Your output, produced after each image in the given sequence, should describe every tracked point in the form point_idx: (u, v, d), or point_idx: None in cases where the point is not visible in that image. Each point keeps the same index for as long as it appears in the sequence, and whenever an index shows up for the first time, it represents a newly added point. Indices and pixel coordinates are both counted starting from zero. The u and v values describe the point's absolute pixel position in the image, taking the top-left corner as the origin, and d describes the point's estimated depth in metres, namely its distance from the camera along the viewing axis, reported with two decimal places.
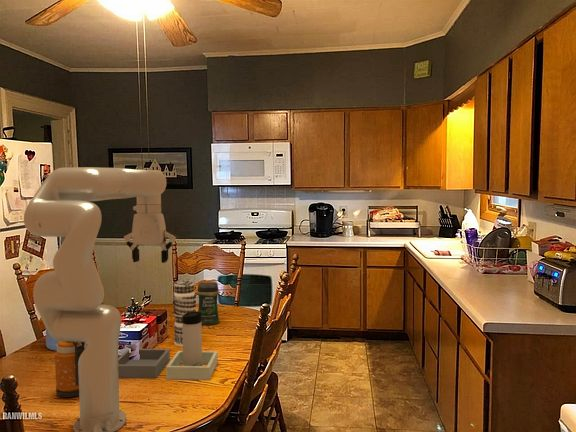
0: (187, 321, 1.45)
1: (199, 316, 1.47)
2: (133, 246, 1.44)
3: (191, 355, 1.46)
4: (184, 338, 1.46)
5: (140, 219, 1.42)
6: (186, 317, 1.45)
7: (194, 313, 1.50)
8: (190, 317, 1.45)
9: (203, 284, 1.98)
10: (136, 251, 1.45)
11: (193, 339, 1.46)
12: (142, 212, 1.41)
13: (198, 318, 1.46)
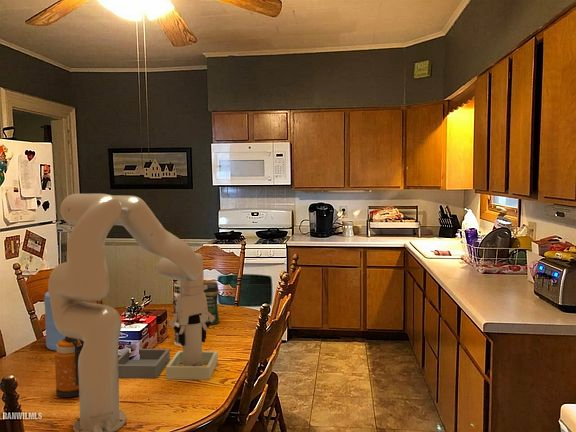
0: None
1: None
2: None
3: (191, 355, 1.46)
4: None
5: None
6: None
7: None
8: (190, 317, 1.45)
9: None
10: None
11: (193, 339, 1.46)
12: None
13: (198, 318, 1.47)
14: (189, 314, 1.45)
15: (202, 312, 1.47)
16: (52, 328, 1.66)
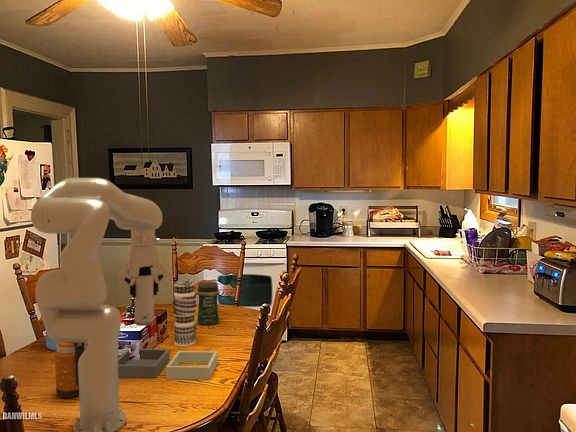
0: None
1: None
2: None
3: (142, 307, 1.46)
4: (135, 290, 1.47)
5: None
6: None
7: None
8: (141, 268, 1.46)
9: (203, 284, 1.98)
10: None
11: (144, 291, 1.46)
12: None
13: (149, 270, 1.47)
14: (139, 266, 1.46)
15: (153, 264, 1.48)
16: None
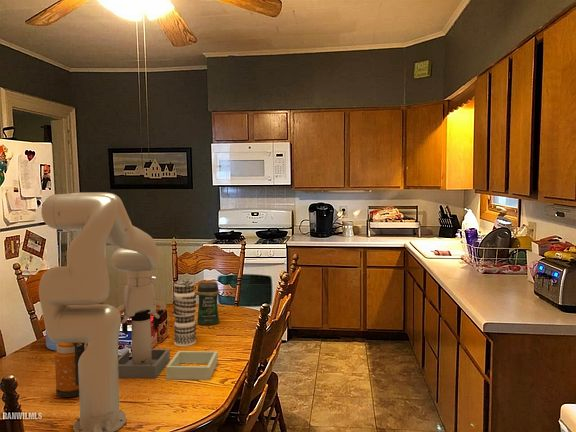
0: (135, 318, 1.47)
1: (148, 313, 1.49)
2: None
3: (140, 352, 1.48)
4: (132, 335, 1.48)
5: None
6: None
7: None
8: (138, 314, 1.47)
9: (203, 284, 1.98)
10: (153, 319, 1.52)
11: (141, 336, 1.47)
12: None
13: (147, 315, 1.48)
14: (136, 305, 1.47)
15: (150, 303, 1.49)
16: None
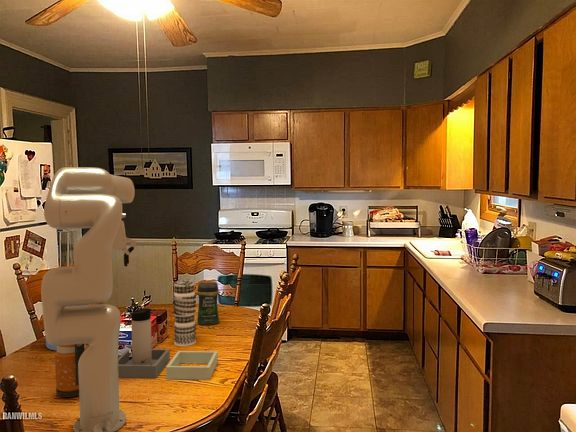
0: (135, 318, 1.47)
1: (148, 313, 1.49)
2: None
3: (140, 352, 1.48)
4: (132, 335, 1.48)
5: None
6: (134, 314, 1.47)
7: (144, 310, 1.51)
8: (138, 314, 1.47)
9: (203, 284, 1.98)
10: (124, 256, 1.54)
11: (142, 336, 1.47)
12: None
13: (147, 315, 1.48)
14: None
15: (119, 239, 1.51)
16: None
